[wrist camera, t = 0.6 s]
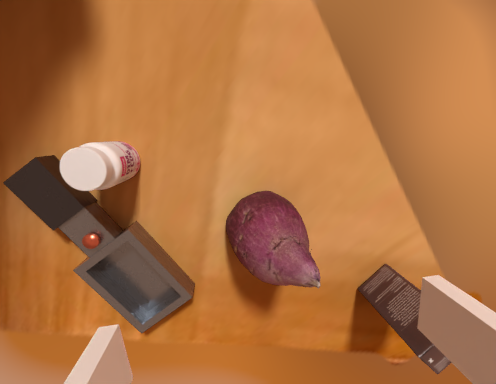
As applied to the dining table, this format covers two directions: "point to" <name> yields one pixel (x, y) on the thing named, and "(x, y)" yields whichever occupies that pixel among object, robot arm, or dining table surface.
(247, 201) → the vegetable
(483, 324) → the robot arm
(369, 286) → the box
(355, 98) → the dining table surface
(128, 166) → the pill bottle
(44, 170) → the shallow gray tray
